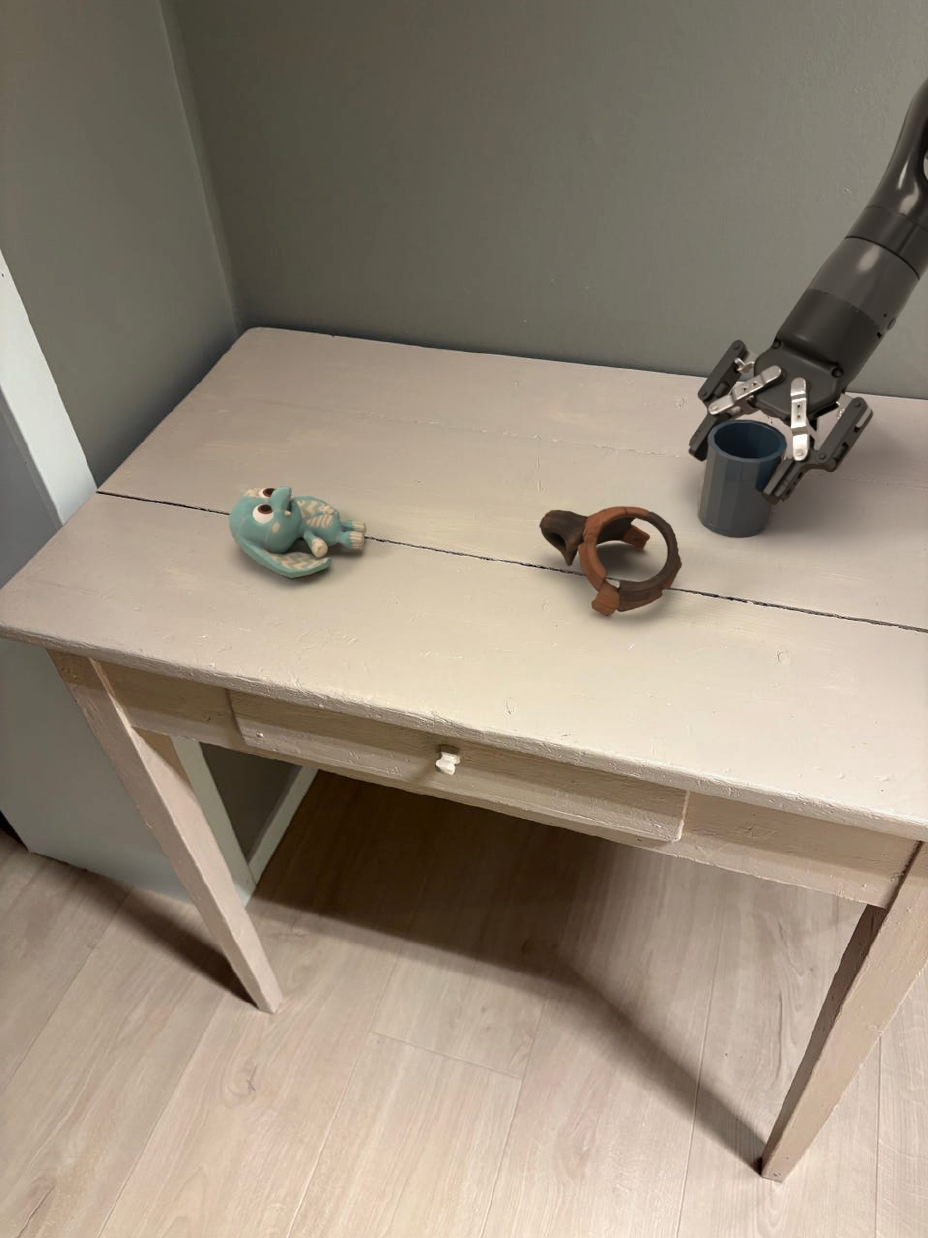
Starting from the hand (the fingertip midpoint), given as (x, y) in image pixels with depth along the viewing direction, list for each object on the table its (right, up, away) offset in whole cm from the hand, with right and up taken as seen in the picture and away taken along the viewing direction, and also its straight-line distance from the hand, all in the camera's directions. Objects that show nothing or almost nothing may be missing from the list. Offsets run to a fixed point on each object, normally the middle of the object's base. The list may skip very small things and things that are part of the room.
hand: (730, 478), depth 83 cm
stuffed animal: (-38, -6, +4) cm, 38 cm away
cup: (+1, -3, +4) cm, 5 cm away
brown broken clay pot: (-11, -9, -1) cm, 14 cm away
